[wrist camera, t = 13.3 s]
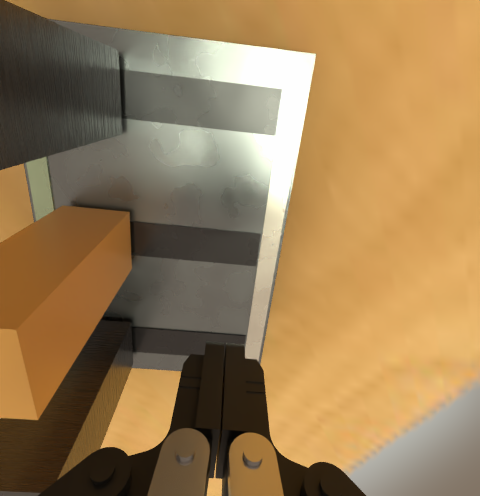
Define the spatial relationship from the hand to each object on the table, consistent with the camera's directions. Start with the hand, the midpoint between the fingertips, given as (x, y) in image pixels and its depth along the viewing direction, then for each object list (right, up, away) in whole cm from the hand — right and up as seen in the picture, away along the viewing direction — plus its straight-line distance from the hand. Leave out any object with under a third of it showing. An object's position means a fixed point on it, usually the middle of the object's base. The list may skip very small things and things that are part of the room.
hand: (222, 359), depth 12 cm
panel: (-5, +5, +10) cm, 12 cm away
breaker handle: (-8, +5, +8) cm, 12 cm away
